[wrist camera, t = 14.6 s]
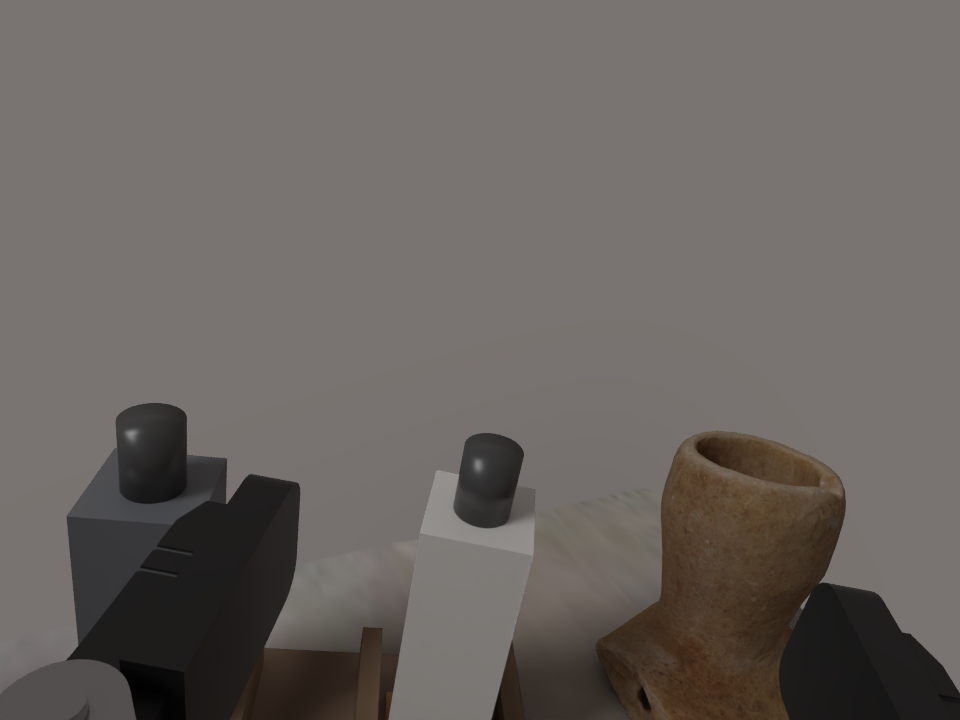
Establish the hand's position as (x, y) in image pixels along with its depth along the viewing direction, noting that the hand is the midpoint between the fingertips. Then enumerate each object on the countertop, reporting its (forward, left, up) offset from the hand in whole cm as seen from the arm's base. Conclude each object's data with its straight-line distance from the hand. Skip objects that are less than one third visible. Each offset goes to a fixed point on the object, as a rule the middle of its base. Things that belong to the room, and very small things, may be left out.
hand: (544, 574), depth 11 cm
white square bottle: (-2, -15, -24) cm, 29 cm away
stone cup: (-19, -21, -26) cm, 38 cm away
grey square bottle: (+11, -15, -25) cm, 31 cm away
